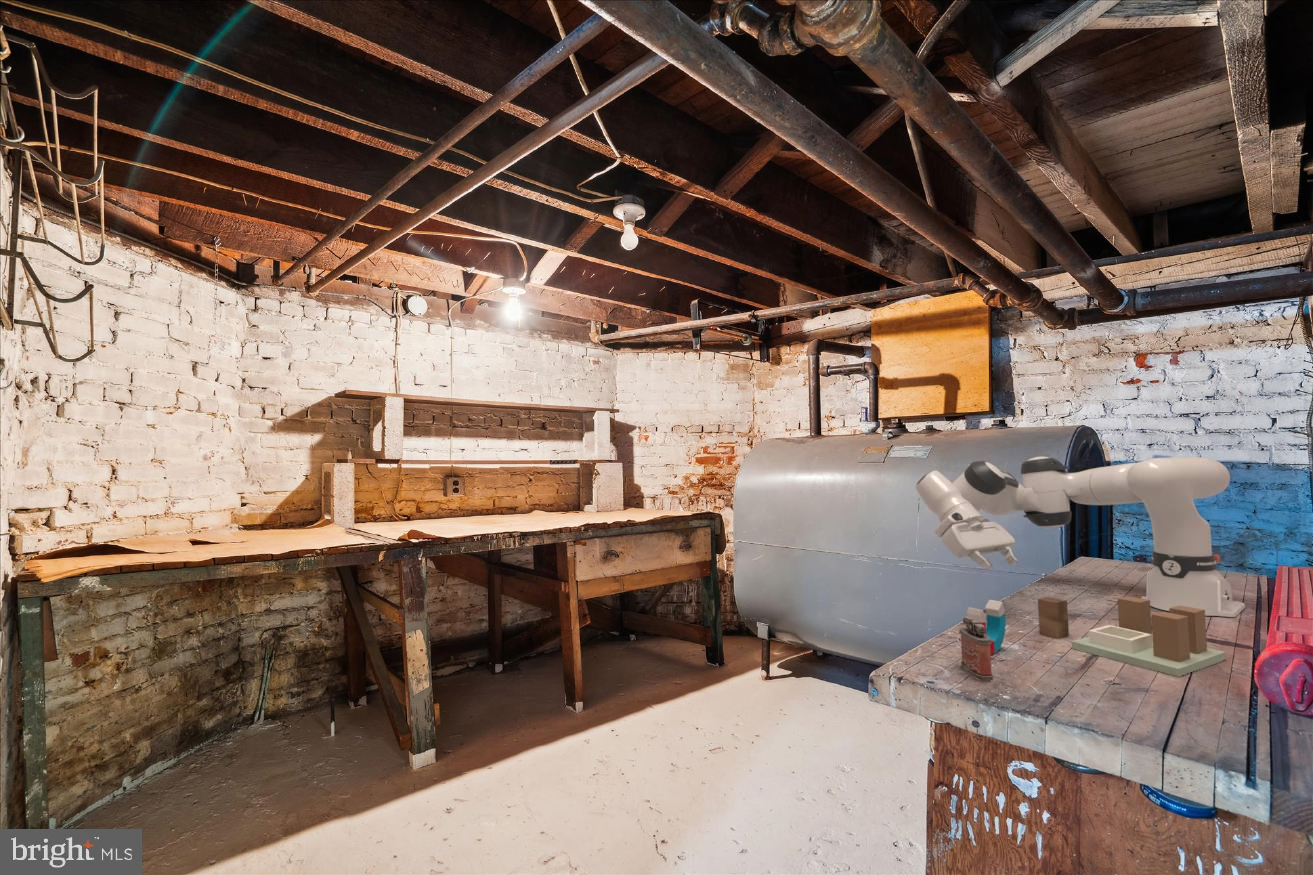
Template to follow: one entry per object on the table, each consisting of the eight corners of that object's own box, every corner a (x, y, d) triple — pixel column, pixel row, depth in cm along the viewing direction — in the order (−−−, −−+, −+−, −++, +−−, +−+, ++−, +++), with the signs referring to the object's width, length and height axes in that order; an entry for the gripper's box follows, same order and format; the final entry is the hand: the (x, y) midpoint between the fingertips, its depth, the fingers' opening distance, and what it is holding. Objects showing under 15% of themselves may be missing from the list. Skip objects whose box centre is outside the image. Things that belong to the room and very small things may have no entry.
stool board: (1119, 634, 128) (1116, 592, 128) (1225, 659, 112) (1222, 610, 112) (1071, 648, 120) (1069, 603, 121) (1179, 677, 104) (1176, 624, 104)
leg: (1050, 631, 132) (1048, 596, 132) (1068, 636, 128) (1067, 600, 128) (1039, 634, 130) (1037, 598, 130) (1058, 639, 127) (1056, 602, 127)
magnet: (993, 644, 124) (991, 598, 124) (1007, 648, 122) (1005, 600, 122) (967, 657, 117) (964, 608, 117) (981, 660, 115) (978, 610, 115)
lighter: (997, 681, 105) (995, 626, 105) (979, 681, 105) (976, 626, 105) (974, 665, 113) (971, 613, 113) (956, 665, 113) (954, 614, 113)
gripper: (982, 526, 155) (1019, 568, 146) (929, 532, 147) (966, 578, 137) (997, 511, 151) (1036, 553, 142) (944, 516, 143) (982, 562, 134)
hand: (1001, 565), depth 140 cm, fingers open, 8 cm apart
